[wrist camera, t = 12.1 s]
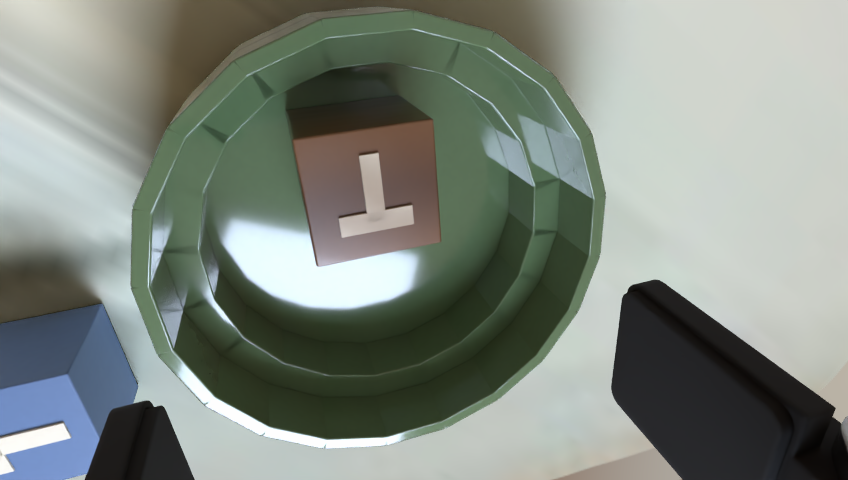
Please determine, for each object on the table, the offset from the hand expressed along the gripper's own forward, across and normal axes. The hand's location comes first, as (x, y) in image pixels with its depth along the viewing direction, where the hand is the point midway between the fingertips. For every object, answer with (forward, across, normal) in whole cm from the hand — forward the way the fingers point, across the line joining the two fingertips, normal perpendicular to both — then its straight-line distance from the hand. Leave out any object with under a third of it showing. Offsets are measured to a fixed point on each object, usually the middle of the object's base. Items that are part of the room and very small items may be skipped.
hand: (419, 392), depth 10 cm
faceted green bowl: (+15, -1, +3) cm, 15 cm away
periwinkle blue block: (+15, +14, +7) cm, 21 cm away
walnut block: (+15, -1, 0) cm, 15 cm away
